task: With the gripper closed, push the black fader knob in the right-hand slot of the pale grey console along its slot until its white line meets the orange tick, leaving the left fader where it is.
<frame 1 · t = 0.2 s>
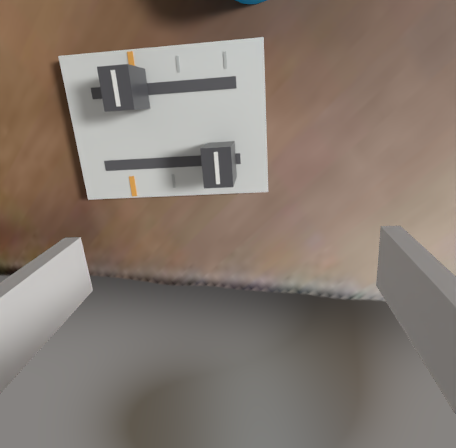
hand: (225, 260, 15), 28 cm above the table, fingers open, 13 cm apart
console: (171, 125, 41), on the table
fader B: (219, 163, 37), point 5 cm above the table, slide at 6.0 cm
fader A: (125, 89, 35), point 5 cm above the table, slide at -3.0 cm
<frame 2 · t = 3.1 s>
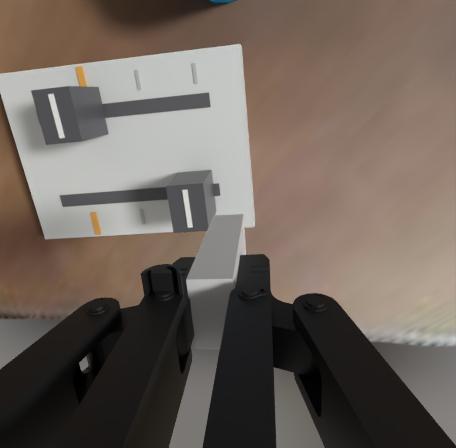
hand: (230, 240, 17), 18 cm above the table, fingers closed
console: (137, 150, 34), on the table
fader B: (193, 199, 30), point 5 cm above the table, slide at 6.0 cm
fader A: (73, 114, 29), point 5 cm above the table, slide at -3.0 cm
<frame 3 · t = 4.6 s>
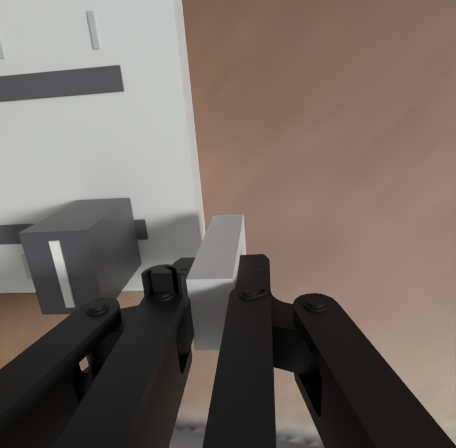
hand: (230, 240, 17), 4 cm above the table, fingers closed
console: (21, 161, 21), on the table
fader B: (89, 251, 17), point 5 cm above the table, slide at 6.0 cm
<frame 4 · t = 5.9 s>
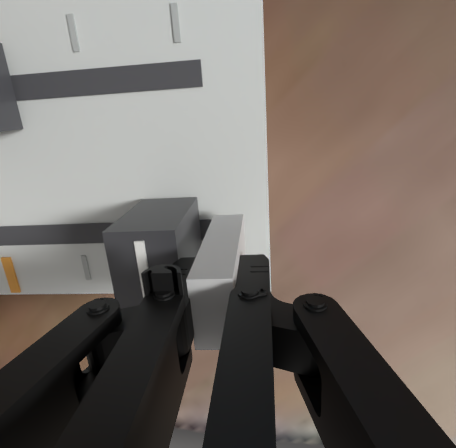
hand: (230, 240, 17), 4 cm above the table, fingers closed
console: (81, 158, 21), on the table
fader B: (161, 252, 17), point 5 cm above the table, slide at 5.7 cm, touching gripper
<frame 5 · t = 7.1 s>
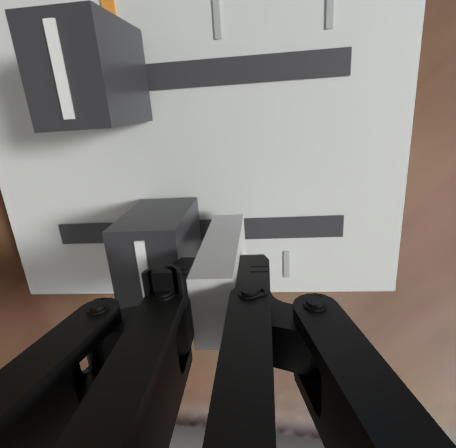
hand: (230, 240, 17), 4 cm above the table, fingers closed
console: (195, 152, 20), on the table
fader B: (161, 252, 17), point 5 cm above the table, slide at -1.2 cm, touching gripper
fader A: (92, 75, 14), point 5 cm above the table, slide at -3.0 cm
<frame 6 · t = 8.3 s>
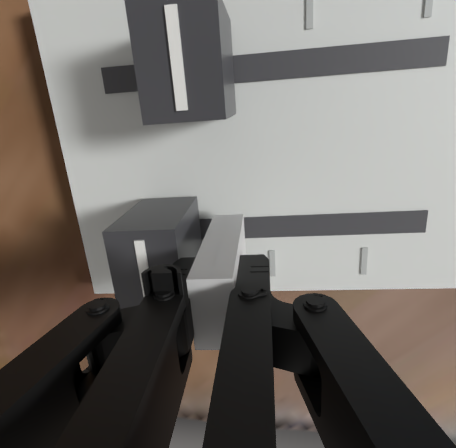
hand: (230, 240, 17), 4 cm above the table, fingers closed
console: (268, 147, 19), on the table
fader B: (161, 251, 17), point 5 cm above the table, slide at -5.3 cm, touching gripper
fader A: (191, 66, 14), point 5 cm above the table, slide at -3.0 cm
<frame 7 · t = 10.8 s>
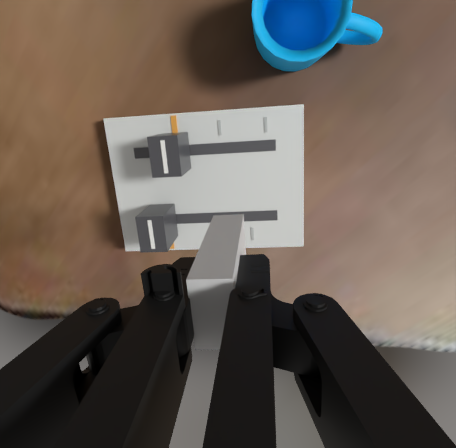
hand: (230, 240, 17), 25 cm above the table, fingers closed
console: (209, 181, 42), on the table
fader B: (158, 227, 39), point 5 cm above the table, slide at -5.4 cm
mug: (310, 33, 36), on the table
fader A: (170, 153, 36), point 5 cm above the table, slide at -3.0 cm
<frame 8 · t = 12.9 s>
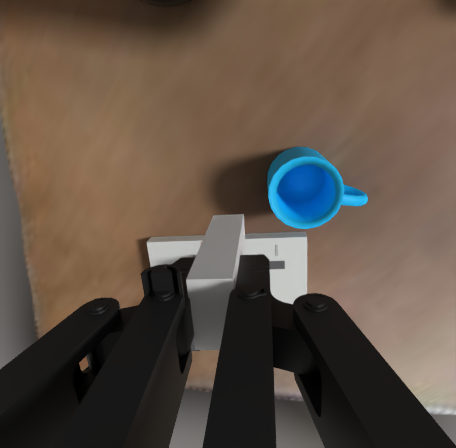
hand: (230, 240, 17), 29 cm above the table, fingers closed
console: (230, 284, 52), on the table
fader B: (191, 327, 49), point 5 cm above the table, slide at -5.4 cm
mug: (312, 180, 46), on the table
fader A: (202, 276, 46), point 5 cm above the table, slide at -3.0 cm
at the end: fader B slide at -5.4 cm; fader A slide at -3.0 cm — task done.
